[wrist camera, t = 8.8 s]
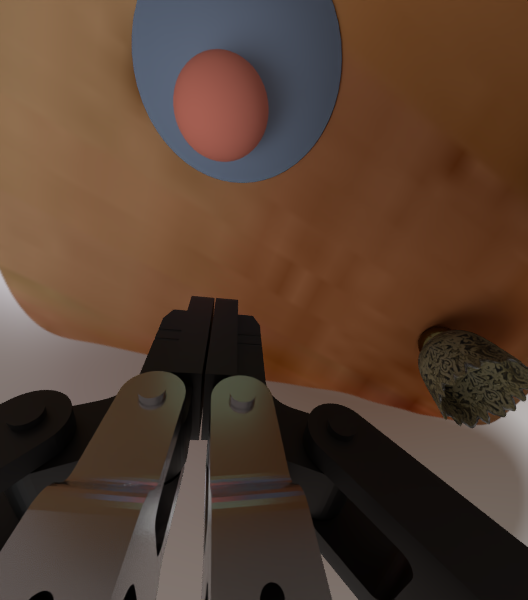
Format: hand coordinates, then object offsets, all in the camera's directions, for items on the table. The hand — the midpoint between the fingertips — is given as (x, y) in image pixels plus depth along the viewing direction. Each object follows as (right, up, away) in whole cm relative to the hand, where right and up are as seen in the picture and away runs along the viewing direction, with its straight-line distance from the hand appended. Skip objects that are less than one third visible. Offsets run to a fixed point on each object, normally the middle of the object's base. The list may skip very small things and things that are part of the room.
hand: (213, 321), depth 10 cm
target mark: (0, +15, +9) cm, 17 cm away
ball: (-1, +12, +7) cm, 14 cm away
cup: (+19, -3, +21) cm, 29 cm away
